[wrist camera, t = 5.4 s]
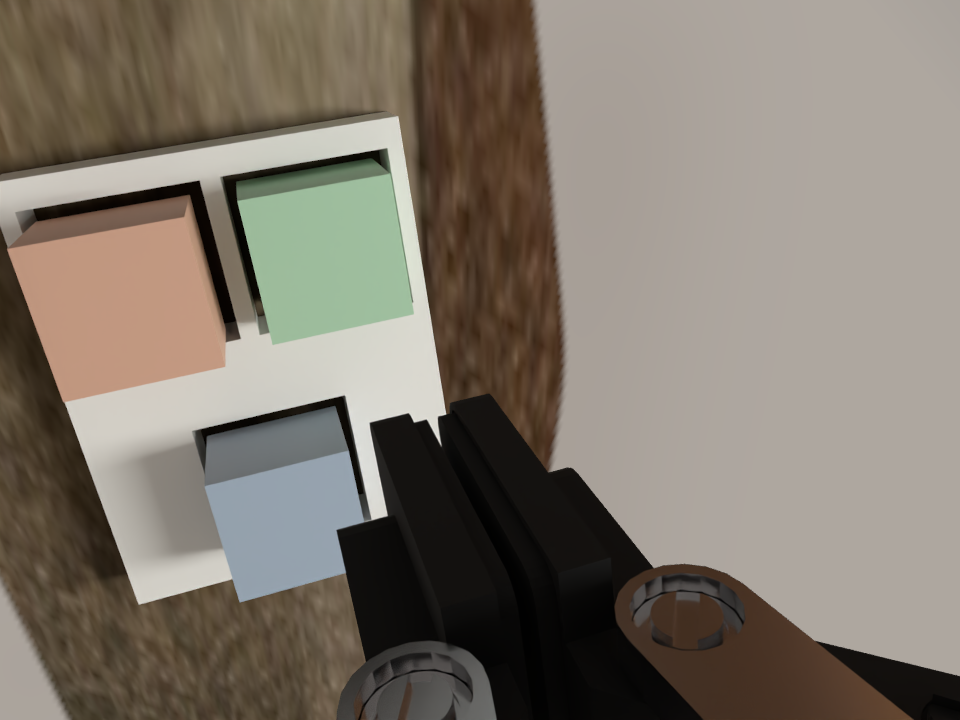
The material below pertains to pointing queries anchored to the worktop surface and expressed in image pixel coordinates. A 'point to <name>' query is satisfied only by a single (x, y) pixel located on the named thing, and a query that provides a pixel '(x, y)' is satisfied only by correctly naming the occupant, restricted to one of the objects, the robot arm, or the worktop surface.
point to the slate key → (282, 500)
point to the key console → (234, 352)
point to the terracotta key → (121, 296)
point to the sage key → (325, 248)
